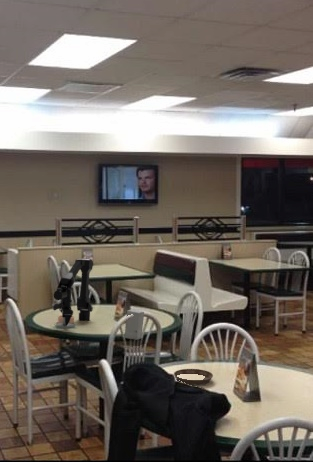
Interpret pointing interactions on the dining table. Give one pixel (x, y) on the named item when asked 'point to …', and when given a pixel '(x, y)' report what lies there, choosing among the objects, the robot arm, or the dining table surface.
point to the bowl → (60, 319)
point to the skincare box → (134, 325)
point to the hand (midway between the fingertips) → (65, 323)
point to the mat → (63, 328)
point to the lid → (62, 325)
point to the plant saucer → (194, 371)
